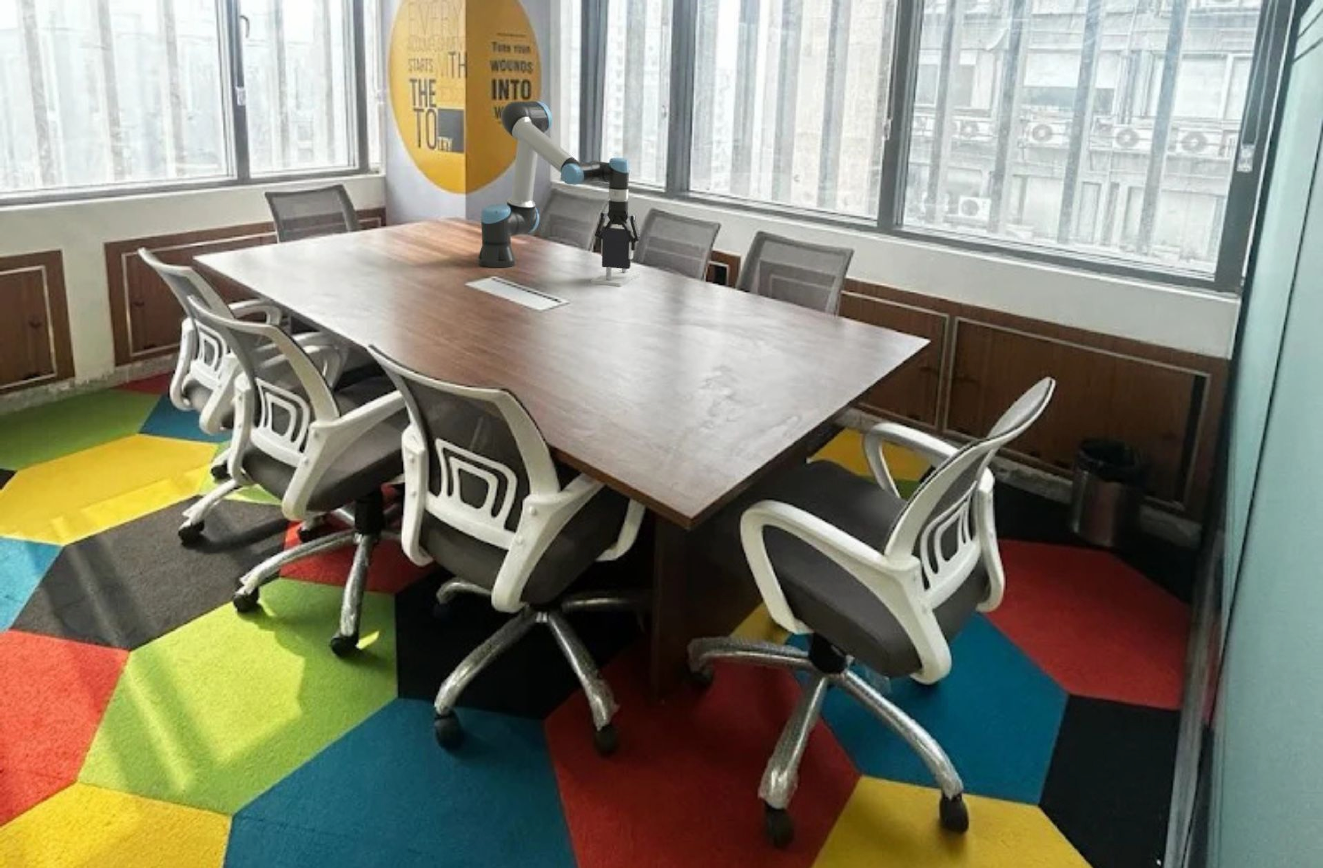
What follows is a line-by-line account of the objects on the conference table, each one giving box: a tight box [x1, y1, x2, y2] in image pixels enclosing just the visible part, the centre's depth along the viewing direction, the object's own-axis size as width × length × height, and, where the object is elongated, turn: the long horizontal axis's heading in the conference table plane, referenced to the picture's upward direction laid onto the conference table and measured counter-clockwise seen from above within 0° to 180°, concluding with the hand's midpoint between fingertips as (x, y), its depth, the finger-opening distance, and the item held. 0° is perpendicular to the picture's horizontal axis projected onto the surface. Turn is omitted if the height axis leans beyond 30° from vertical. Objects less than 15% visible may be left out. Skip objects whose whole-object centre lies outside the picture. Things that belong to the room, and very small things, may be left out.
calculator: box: [601, 227, 633, 270], centre depth 375 cm, size 11×4×15 cm, turn 84°
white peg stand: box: [590, 267, 642, 287], centre depth 378 cm, size 12×22×6 cm, turn 160°
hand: (617, 257), depth 376 cm, fingers closed on calculator, 11 cm apart
